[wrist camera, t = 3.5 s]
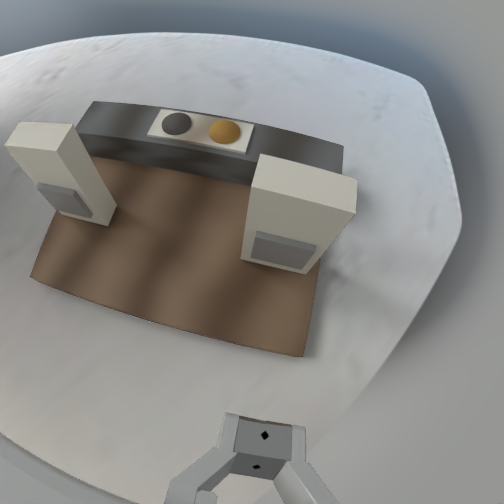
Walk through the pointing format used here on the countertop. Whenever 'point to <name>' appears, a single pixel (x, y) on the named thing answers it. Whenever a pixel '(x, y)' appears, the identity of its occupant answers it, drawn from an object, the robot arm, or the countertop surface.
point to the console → (183, 226)
